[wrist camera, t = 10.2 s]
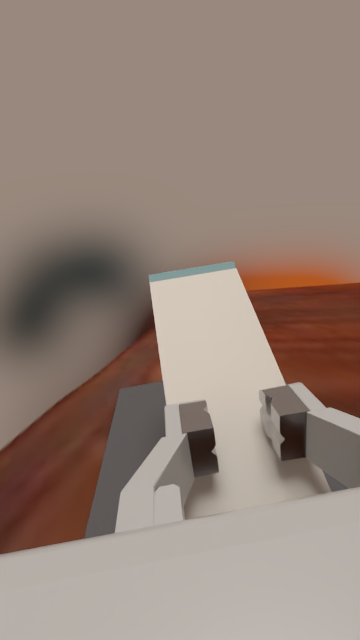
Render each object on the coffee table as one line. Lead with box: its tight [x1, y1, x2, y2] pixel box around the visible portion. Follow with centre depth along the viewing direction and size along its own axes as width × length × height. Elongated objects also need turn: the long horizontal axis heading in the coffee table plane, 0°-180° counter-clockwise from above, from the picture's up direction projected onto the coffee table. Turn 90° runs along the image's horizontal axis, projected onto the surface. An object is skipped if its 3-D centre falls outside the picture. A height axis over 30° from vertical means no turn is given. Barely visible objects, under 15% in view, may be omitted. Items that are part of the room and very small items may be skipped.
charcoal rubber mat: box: [84, 381, 349, 539], centre depth 20 cm, size 16×17×1 cm
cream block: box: [149, 261, 331, 520], centre depth 13 cm, size 5×5×14 cm
